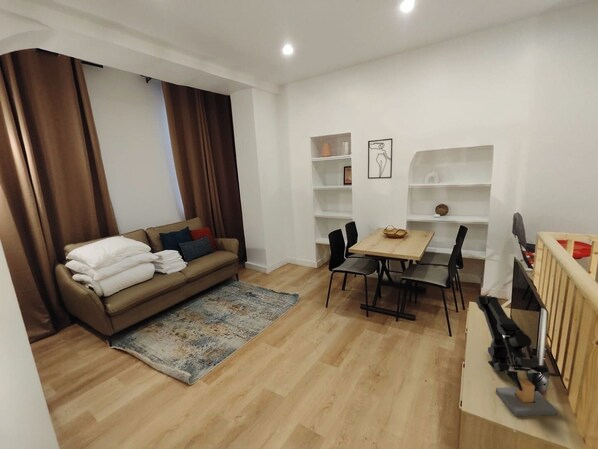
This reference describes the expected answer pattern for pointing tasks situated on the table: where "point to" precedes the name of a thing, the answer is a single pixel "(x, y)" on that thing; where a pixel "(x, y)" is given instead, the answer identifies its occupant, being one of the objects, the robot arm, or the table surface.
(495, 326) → the robot arm
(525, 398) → the orange bar
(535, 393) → the jig plate
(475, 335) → the table surface
